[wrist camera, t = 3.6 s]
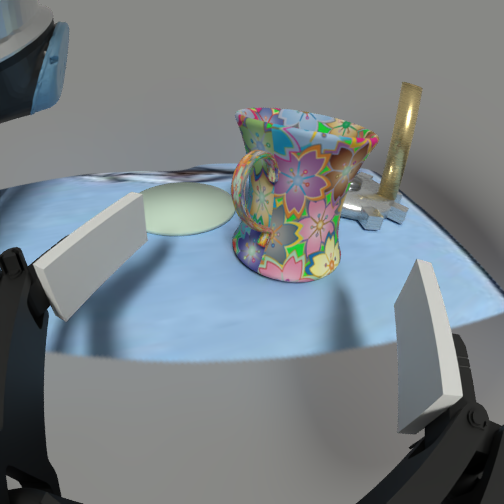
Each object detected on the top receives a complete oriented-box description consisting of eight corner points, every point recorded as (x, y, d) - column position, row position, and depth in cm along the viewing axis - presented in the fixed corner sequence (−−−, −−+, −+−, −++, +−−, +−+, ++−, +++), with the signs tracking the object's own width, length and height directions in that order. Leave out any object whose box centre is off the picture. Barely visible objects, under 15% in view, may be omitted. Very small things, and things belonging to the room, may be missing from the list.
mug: (266, 214, 28) (280, 106, 22) (355, 251, 24) (388, 133, 18) (176, 275, 20) (169, 117, 14) (294, 343, 16) (344, 156, 10)
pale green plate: (104, 221, 25) (103, 217, 24) (163, 180, 33) (163, 177, 33) (207, 248, 23) (207, 244, 22) (249, 196, 31) (249, 192, 31)
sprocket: (271, 206, 29) (291, 51, 20) (295, 166, 41) (309, 64, 32) (413, 242, 26) (456, 95, 17) (393, 190, 38) (417, 90, 29)
